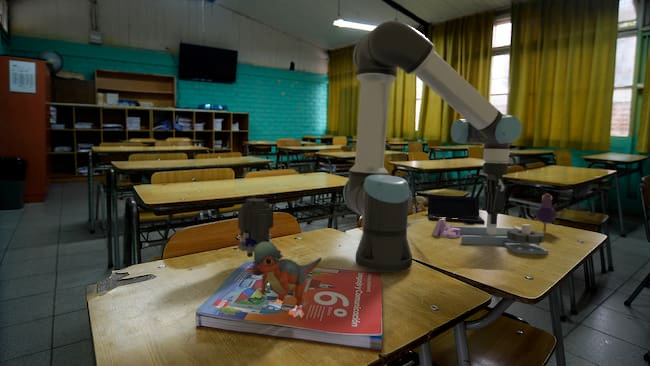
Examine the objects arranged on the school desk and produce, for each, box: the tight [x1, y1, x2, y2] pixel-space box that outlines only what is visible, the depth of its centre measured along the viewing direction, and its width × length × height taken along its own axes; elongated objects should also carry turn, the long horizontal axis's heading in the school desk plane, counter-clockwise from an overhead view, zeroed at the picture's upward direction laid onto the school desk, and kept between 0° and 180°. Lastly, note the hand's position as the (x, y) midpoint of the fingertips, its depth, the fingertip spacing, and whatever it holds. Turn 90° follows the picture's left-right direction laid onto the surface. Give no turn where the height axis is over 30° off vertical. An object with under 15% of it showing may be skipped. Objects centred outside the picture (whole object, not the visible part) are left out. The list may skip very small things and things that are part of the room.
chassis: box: [452, 223, 549, 255], centre depth 122 cm, size 24×25×8 cm
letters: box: [430, 218, 461, 239], centre depth 131 cm, size 8×7×6 cm
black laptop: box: [426, 194, 485, 225], centre depth 157 cm, size 21×16×10 cm
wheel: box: [506, 228, 546, 244], centre depth 114 cm, size 10×10×2 cm
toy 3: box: [534, 192, 559, 233], centre depth 137 cm, size 11×12×7 cm
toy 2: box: [251, 241, 322, 306], centre depth 74 cm, size 19×11×15 cm, turn 118°
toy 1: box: [237, 197, 274, 258], centre depth 100 cm, size 9×9×15 cm
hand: (491, 233), depth 127 cm, fingers closed
